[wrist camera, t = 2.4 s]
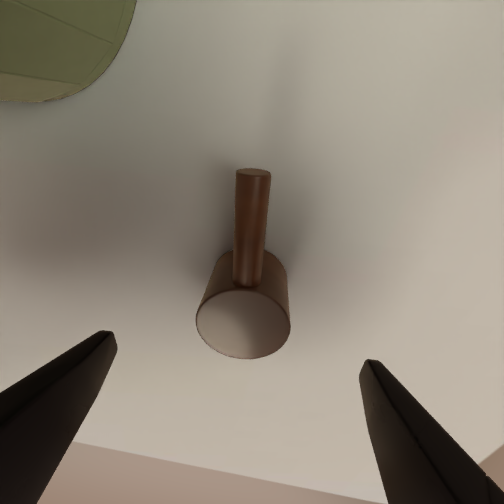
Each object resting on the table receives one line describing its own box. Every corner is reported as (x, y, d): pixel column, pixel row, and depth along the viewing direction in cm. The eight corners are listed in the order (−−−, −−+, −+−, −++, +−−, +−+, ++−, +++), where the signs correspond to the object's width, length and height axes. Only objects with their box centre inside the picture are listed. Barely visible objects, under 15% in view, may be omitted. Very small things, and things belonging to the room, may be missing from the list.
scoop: (282, 310, 14) (284, 364, 11) (213, 303, 14) (197, 354, 11) (306, 162, 10) (319, 181, 7) (211, 154, 10) (185, 170, 7)
